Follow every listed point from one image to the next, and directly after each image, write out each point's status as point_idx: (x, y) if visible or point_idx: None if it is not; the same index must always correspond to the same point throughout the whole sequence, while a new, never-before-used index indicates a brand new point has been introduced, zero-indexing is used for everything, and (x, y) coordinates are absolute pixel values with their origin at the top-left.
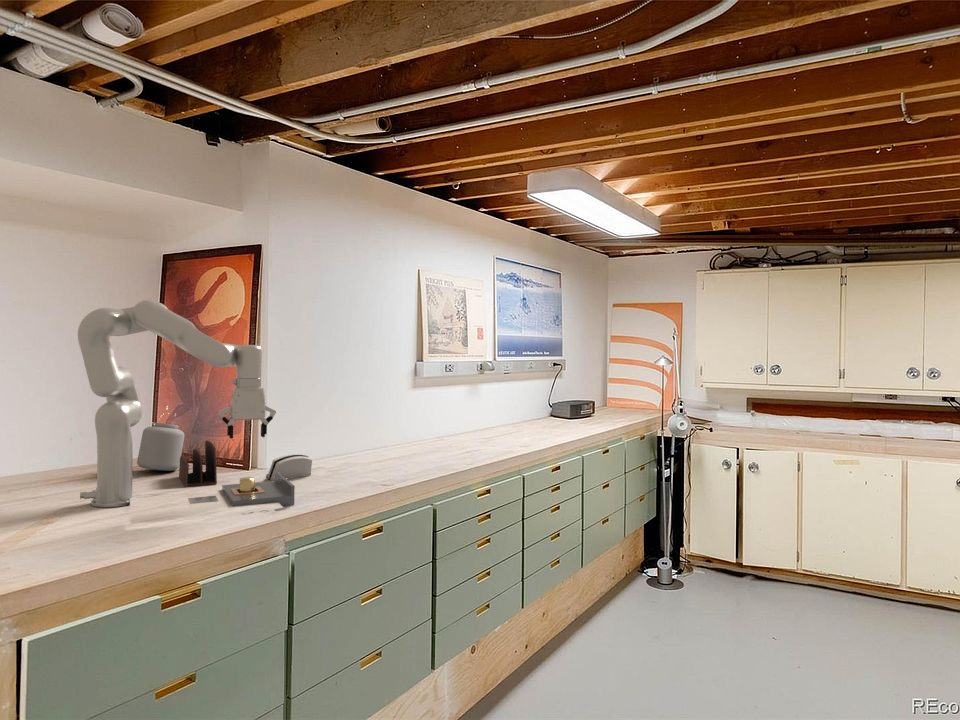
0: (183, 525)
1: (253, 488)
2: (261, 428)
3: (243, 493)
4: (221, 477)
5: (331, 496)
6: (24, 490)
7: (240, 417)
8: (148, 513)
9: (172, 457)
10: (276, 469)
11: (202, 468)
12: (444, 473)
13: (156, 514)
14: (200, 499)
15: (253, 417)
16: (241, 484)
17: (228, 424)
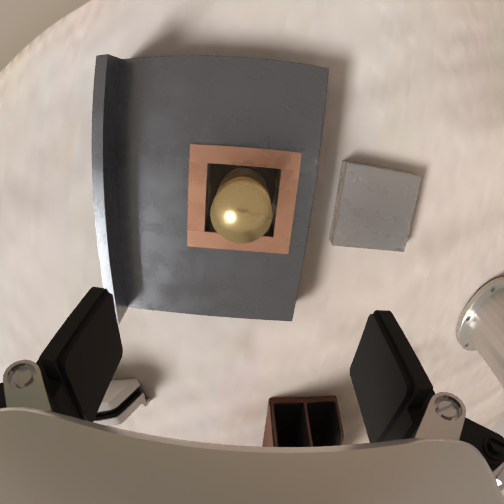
0: (453, 22)
1: (223, 183)
2: (95, 382)
3: (268, 154)
4: (241, 439)
5: (17, 138)
6: (495, 413)
7: (398, 468)
8: (489, 186)
9: None
10: (118, 394)
11: (306, 431)
12: None
13: (481, 164)
14: (384, 216)
15: (143, 462)
16: (268, 196)
17: (450, 406)
